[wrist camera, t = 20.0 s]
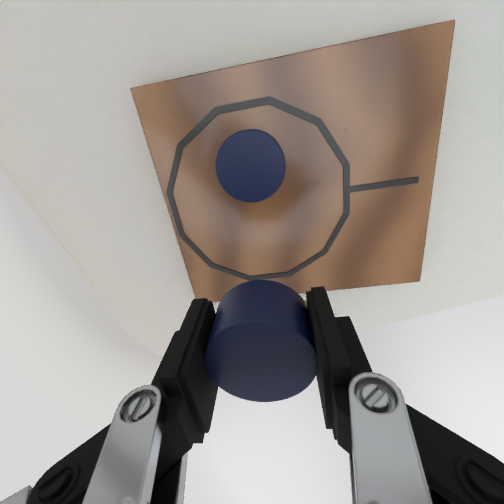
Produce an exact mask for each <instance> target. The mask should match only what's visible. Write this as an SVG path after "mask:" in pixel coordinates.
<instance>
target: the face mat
mask: <svg viewBox="0 0 504 504" xmlns="http://www.w3.org/2000/svg"><path fill="white" fill-rule="evenodd" d="M454 26H455V20H450V21H445V22H440V23H436V24H431V25H426V26H422V27H417V28H412V29H407V30H403V31H398V32H393V33H389V34H384V35H379V36H374V37H370V38H365V39H360V40H356V41H351V42H346V43H341V44H337V45H332V46H327V47H323V48H318V49H313V50H308V51H304V52H299V53H294V54H290V55H285V56H280V57H275V58H271V59H266V60H261V61H256V62H252V63H247V64H242V65H238V66H233V67H228V68H223V69H219V70H214V71H209V72H205V73H200V74H195V75H190V76H186V77H181V78H176V79H172V80H167V81H162V82H157V83H153V84H148V85H143V86H139V87H134V88H131V92H132V95H133V99H134V102H135V105H136V108H137V111H138V115H139V118H140V121H141V124H142V128H143V131H144V134H145V137H146V140H147V144H148V147H149V150H150V153H151V156H152V160H153V163H154V166H155V169H156V172H157V176H158V179H159V182H160V185H161V189H162V192H163V195H164V198H165V201H166V205H167V208H168V211H169V214H170V217H171V221H172V224H173V227H174V230H175V233H176V237H177V240H178V243H179V246H180V250H181V253H182V256H183V259H184V262H185V266H186V269H187V272H188V275H189V278H190V282H191V285H192V288H193V291H194V295H195V298H196V299H200V298H207V299H208V301H212V302H220V301H221V299H222V298H223V296H224V295H225V294H226V293H227V292H228V291H229V290H231V289H232V288H234V287H235V286H237V285H239V284H241V283H244V282H247V281H252V280H271V281H276V282H279V283H282V284H284V285H287V286H288V287H290V288H292V289H293V290H294V291H296V292H297V293H298V294H300V293H306V291H311V287H320V286H324V287H325V290H326V291H330V290H340V289H350V288H360V287H370V286H380V285H390V284H400V283H410V282H419V281H420V276H421V269H422V262H423V254H424V247H425V239H426V232H427V225H428V217H429V210H430V203H431V195H432V188H433V180H434V173H435V166H436V158H437V151H438V144H439V136H440V129H441V121H442V114H443V107H444V99H445V92H446V85H447V77H448V70H449V62H450V55H451V48H452V40H453V33H454ZM246 129H259V130H263V131H265V132H267V133H269V134H270V135H272V136H273V137H274V138H275V139H276V141H277V142H278V143H279V145H280V147H281V149H282V151H283V153H284V157H285V162H286V171H285V176H284V179H283V182H282V184H281V186H280V187H279V189H278V190H277V191H276V192H275V193H274V194H273V195H272V196H270V197H269V198H267V199H265V200H263V201H260V202H254V203H248V202H242V201H239V200H237V199H235V198H233V197H232V196H230V195H229V194H228V193H227V192H226V191H225V190H224V189H223V187H222V186H221V184H220V183H219V180H218V178H217V174H216V158H217V154H218V151H219V149H220V147H221V145H222V144H223V143H224V141H225V140H226V139H227V138H228V137H230V136H231V135H233V134H234V133H236V132H239V131H242V130H246Z"/></svg>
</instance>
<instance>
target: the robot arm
mask: <svg viewBox="0 0 504 504" xmlns="http://www.w3.org/2000/svg"><path fill="white" fill-rule="evenodd" d="M306 298H307V309H308V314H309V319H310V324H311V329H312V334H313V338H314V343H315V348H316V355H317V368H318V370H317V373H316V376H317V381H318V386H319V392H320V397H321V403H322V408H323V414H324V419H325V424H326V429H333V434H334V439H335V440H337V441H338V444H339V445H340V446H341V447H342V448H343V449H344V450H346V451H347V452H348V453H349V460H350V461H349V462H350V477H351V491H352V504H504V464H503V463H502V462H501V461H499V460H498V459H496V458H495V457H494V456H492V455H490V454H489V453H487V452H485V451H483V450H482V449H480V448H479V447H477V446H475V445H474V444H472V443H470V442H469V441H467V440H465V439H464V438H462V437H460V436H459V435H457V434H455V433H454V432H452V431H450V430H449V429H447V428H445V427H444V426H442V425H440V424H439V423H437V422H435V421H434V420H432V419H430V418H429V417H427V416H425V415H424V414H422V413H420V412H419V411H417V410H415V409H414V408H412V407H410V406H409V405H407V404H405V401H404V397H403V394H402V392H401V390H400V389H399V387H398V386H397V385H396V384H395V383H394V382H393V381H391V380H390V379H389V378H387V377H385V376H383V375H381V374H377V373H373V372H372V370H371V367H370V365H369V362H368V360H367V358H366V355H365V353H364V350H363V348H362V345H361V343H360V341H359V338H358V336H357V333H356V331H355V329H354V326H353V324H352V321H351V319H350V317H349V316H346V317H334V314H333V311H332V308H331V305H330V302H329V299H328V296H327V293H326V290H325V287H324V286H320V287H311V291H306ZM215 316H216V314H215V310H214V307H213V303H212V301H208V299H207V298H200V299H193V301H192V303H191V305H190V307H189V310H188V312H187V314H186V316H185V319H184V321H183V323H182V325H181V328H180V330H179V331H176V332H175V333H174V335H173V337H172V339H171V342H170V344H169V346H168V348H167V350H166V352H165V355H164V357H163V359H162V361H161V364H160V366H159V368H158V370H157V372H156V374H155V376H154V379H153V381H152V383H151V385H144V386H141V387H138V388H136V389H135V390H133V391H131V392H130V393H129V394H128V395H126V396H125V397H124V398H123V400H122V401H121V402H120V404H119V405H118V408H117V410H116V412H115V414H114V417H113V420H112V423H111V424H109V425H108V426H107V427H105V428H104V429H102V430H101V431H100V432H98V433H97V434H96V435H94V436H93V437H92V438H90V439H89V440H87V441H86V442H85V443H84V444H82V445H81V446H79V447H78V448H76V449H75V450H74V451H72V452H71V453H69V454H68V455H67V456H65V457H64V458H63V459H61V460H60V461H58V462H57V463H56V464H54V465H53V466H52V467H51V468H50V469H49V470H47V471H46V472H45V473H44V475H43V476H42V477H41V478H40V479H39V480H38V482H37V483H36V485H35V486H34V487H33V488H32V487H31V486H27V487H25V488H24V489H22V490H20V491H19V492H17V493H15V494H13V495H12V496H10V497H8V498H6V499H5V500H3V501H1V502H0V504H183V500H184V489H185V477H186V467H187V452H188V451H189V450H190V449H191V448H192V445H193V443H203V438H204V434H205V433H208V432H209V430H210V425H211V420H212V415H213V410H214V405H215V400H216V395H217V390H218V385H217V384H216V383H215V382H214V381H213V380H212V379H211V377H210V375H209V373H208V370H207V367H206V364H205V351H206V347H207V344H208V340H209V337H210V333H211V330H212V326H213V323H214V319H215Z"/></svg>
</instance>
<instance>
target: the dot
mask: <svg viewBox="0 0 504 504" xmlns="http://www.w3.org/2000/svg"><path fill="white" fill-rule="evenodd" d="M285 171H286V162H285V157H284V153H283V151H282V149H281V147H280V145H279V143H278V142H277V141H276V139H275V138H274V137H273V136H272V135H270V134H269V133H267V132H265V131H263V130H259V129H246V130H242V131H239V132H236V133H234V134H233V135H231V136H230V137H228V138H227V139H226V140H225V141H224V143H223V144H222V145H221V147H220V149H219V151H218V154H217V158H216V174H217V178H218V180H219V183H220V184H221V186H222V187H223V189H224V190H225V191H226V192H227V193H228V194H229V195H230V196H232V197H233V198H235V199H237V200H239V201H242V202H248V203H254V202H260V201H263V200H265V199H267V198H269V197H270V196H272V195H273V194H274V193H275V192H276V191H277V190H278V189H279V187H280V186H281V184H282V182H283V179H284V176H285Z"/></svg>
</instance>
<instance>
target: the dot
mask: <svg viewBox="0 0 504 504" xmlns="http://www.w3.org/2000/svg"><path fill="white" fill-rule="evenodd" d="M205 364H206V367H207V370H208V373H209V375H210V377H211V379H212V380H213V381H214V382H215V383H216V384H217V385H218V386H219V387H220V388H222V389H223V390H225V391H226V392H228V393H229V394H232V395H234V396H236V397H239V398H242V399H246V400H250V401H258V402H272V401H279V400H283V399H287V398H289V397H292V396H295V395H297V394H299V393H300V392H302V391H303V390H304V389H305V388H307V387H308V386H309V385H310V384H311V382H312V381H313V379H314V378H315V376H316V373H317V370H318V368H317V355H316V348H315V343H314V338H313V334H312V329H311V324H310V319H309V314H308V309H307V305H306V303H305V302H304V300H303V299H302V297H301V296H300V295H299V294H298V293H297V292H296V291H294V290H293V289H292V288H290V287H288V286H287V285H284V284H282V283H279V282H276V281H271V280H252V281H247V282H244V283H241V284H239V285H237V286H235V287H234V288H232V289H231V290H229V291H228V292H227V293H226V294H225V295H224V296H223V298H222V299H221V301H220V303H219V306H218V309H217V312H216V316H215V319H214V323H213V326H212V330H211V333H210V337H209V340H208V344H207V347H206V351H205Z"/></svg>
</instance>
